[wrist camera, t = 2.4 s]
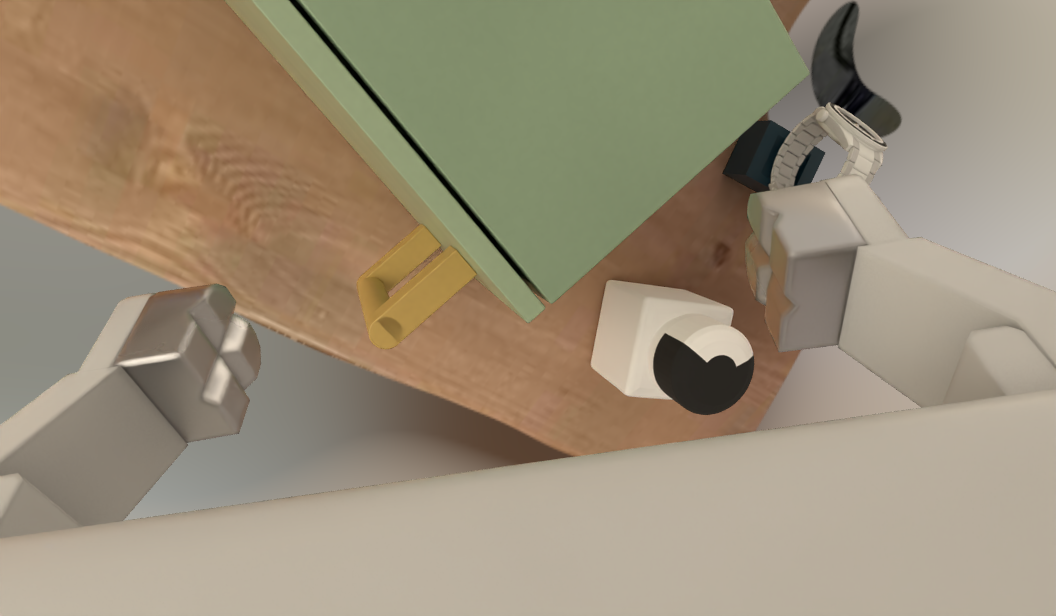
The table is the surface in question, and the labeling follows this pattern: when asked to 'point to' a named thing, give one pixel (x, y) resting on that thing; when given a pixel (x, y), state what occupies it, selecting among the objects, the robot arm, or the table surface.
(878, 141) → the watch
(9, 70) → the table surface
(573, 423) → the table surface
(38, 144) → the table surface
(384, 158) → the cupboard door
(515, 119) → the cupboard
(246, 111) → the table surface
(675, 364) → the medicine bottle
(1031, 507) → the robot arm
